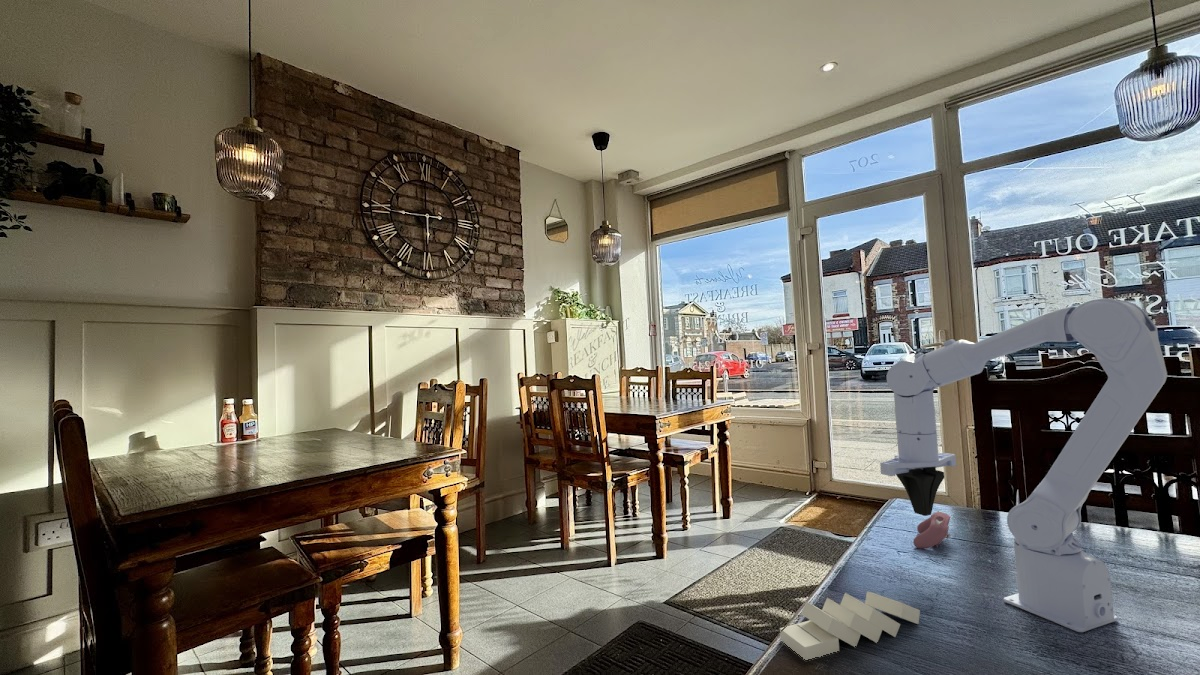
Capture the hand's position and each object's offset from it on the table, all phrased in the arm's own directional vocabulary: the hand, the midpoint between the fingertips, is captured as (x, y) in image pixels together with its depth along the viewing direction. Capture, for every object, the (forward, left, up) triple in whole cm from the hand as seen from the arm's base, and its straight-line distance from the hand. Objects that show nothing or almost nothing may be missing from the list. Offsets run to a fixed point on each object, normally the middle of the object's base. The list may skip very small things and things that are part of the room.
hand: (922, 513), depth 85 cm
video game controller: (+9, -13, -10) cm, 19 cm away
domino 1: (-9, +29, -9) cm, 32 cm away
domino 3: (-9, +23, -9) cm, 26 cm away
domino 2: (-9, +26, -9) cm, 29 cm away
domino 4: (-9, +20, -9) cm, 24 cm away
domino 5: (-8, +15, -9) cm, 19 cm away
